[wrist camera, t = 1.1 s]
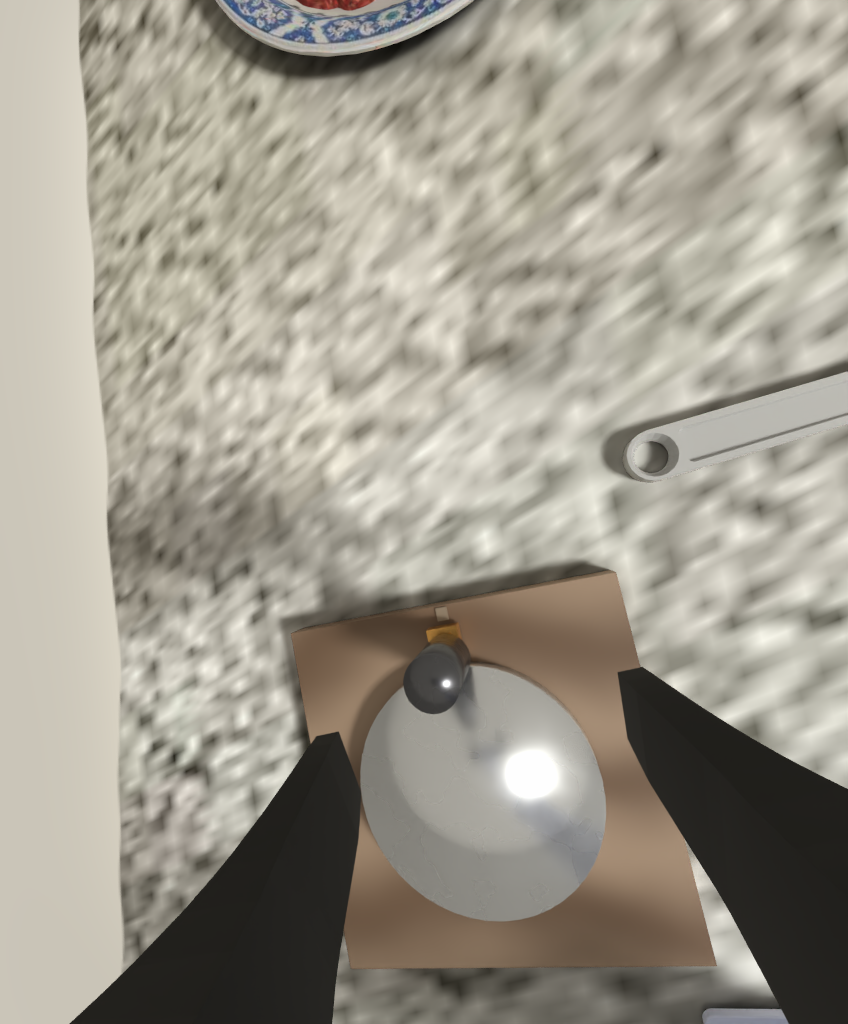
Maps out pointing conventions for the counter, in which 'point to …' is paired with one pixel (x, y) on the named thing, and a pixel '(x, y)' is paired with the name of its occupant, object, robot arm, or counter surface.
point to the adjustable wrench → (745, 427)
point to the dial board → (598, 709)
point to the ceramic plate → (337, 22)
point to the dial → (481, 786)
